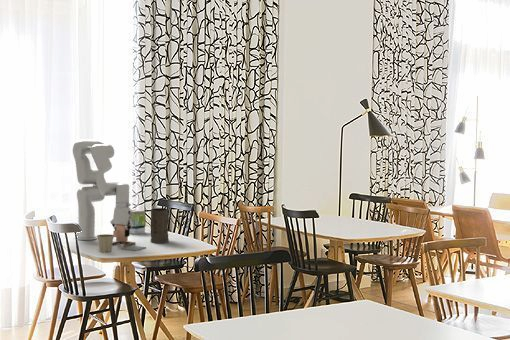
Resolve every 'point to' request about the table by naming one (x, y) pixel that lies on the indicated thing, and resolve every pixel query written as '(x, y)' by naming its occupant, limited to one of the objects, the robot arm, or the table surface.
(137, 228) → the tea box
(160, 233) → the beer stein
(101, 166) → the robot arm
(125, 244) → the cradle
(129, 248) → the coaster
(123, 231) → the jug
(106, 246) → the flower pot
